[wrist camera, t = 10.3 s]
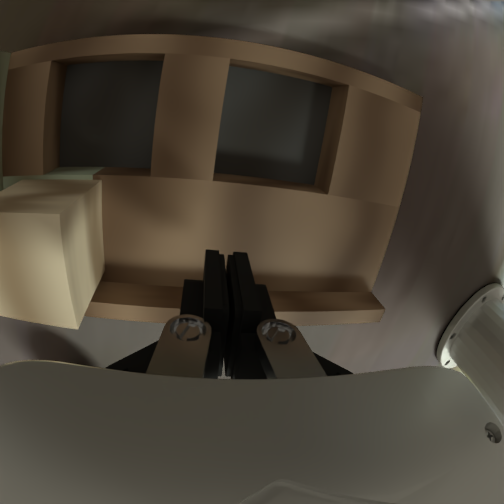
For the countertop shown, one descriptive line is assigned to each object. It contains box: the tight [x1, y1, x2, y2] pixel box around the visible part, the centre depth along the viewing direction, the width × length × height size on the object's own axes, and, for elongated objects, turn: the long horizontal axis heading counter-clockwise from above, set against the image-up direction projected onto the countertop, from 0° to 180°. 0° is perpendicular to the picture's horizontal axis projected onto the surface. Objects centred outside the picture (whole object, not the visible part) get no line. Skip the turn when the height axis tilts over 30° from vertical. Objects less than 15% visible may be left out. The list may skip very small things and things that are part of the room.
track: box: [0, 34, 423, 326], centre depth 13 cm, size 24×14×6 cm, turn 81°
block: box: [0, 179, 105, 329], centre depth 11 cm, size 5×5×5 cm
